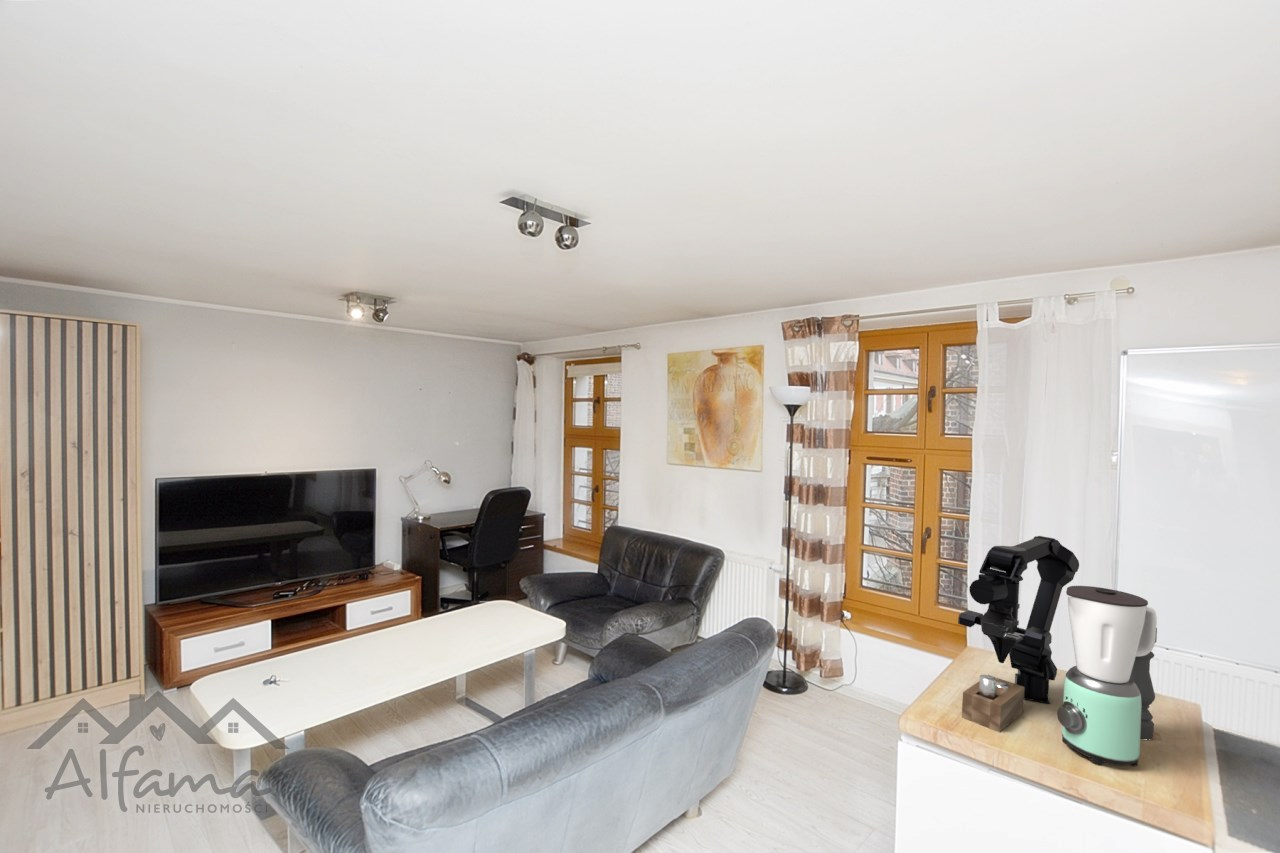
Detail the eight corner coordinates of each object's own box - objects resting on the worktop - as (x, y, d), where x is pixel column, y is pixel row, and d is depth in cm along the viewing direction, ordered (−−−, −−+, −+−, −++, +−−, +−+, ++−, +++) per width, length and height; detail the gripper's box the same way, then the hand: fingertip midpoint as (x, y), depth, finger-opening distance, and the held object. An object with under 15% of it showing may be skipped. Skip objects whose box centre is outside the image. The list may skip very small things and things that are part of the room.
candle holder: (1144, 729, 133) (1149, 622, 133) (1159, 742, 127) (1164, 631, 127) (1112, 723, 135) (1117, 618, 135) (1125, 736, 129) (1130, 627, 129)
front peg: (993, 699, 135) (994, 676, 135) (995, 705, 132) (996, 682, 132) (978, 696, 136) (979, 673, 136) (979, 702, 133) (981, 679, 133)
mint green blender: (1088, 771, 115) (1096, 599, 115) (1037, 735, 128) (1044, 580, 128) (1176, 771, 116) (1184, 601, 116) (1117, 735, 130) (1124, 582, 129)
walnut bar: (1023, 711, 139) (1024, 686, 139) (999, 732, 129) (1000, 705, 129) (987, 698, 145) (988, 674, 145) (961, 717, 135) (962, 692, 135)
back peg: (1006, 705, 141) (1007, 683, 141) (1008, 711, 138) (1009, 688, 138) (991, 702, 142) (992, 680, 142) (993, 707, 139) (994, 685, 139)
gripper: (950, 594, 142) (947, 656, 142) (1038, 616, 127) (1034, 685, 128) (968, 587, 149) (965, 647, 149) (1053, 607, 134) (1050, 673, 135)
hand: (1001, 662), depth 140 cm, fingers closed
